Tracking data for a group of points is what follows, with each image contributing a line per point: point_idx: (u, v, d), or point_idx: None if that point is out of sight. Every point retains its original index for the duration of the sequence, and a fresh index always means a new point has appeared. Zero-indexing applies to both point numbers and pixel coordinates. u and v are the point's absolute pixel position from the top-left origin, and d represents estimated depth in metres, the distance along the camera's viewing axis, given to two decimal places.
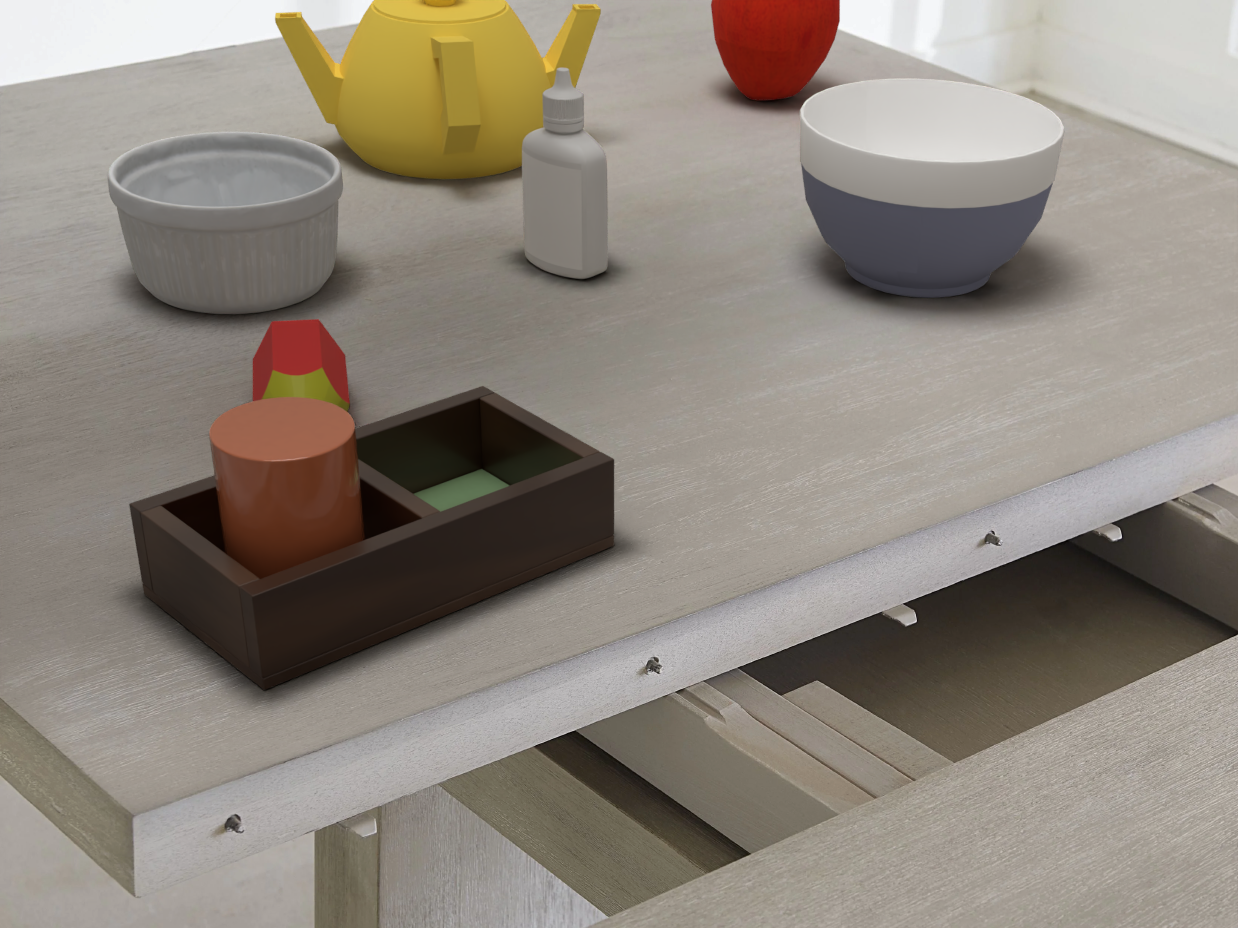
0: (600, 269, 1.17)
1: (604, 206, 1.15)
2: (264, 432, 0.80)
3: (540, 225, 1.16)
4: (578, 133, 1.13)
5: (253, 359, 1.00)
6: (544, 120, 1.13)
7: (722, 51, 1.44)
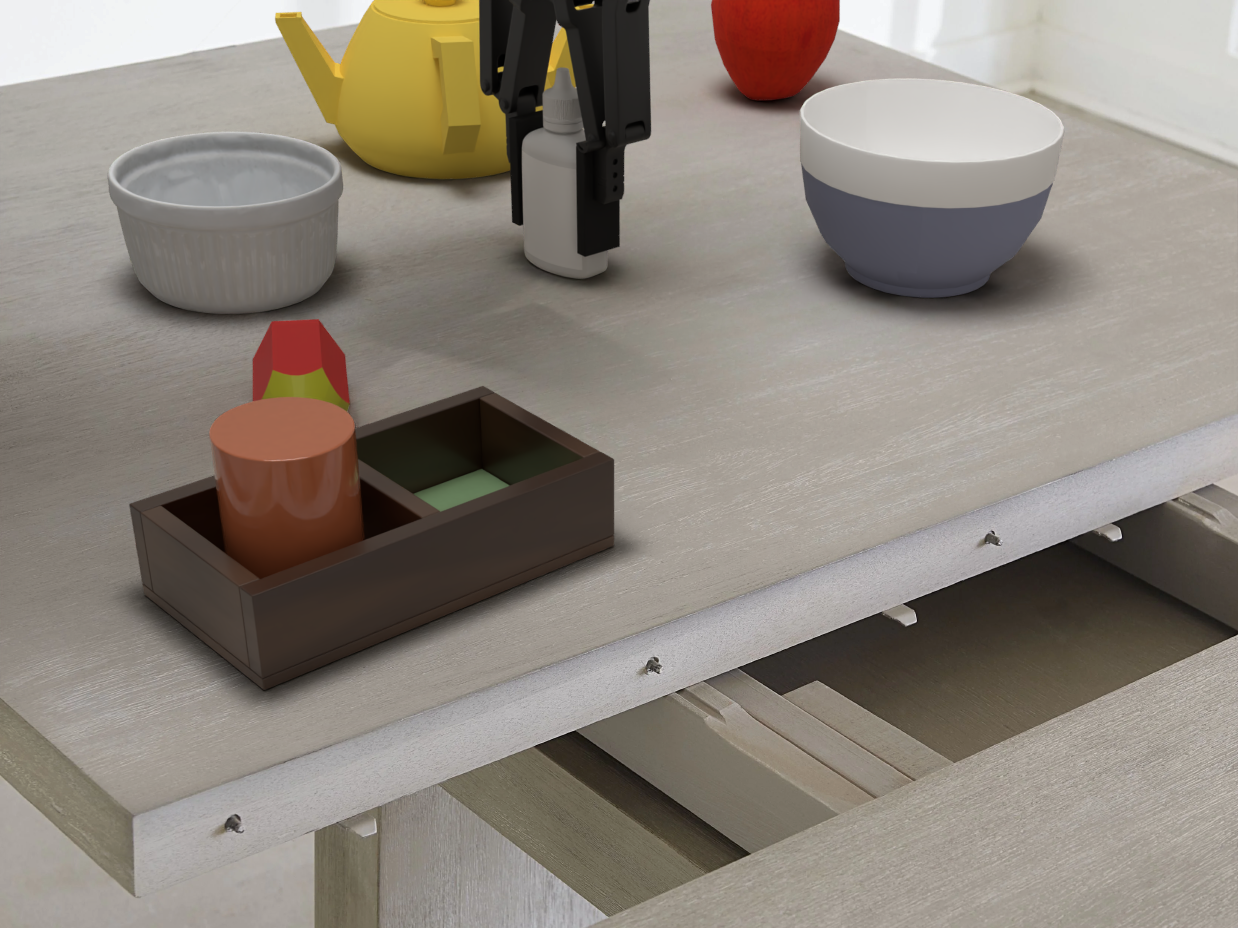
0: (600, 269, 1.17)
1: None
2: (264, 432, 0.80)
3: (540, 225, 1.16)
4: (578, 133, 1.13)
5: (253, 359, 1.00)
6: (544, 120, 1.13)
7: (722, 51, 1.44)
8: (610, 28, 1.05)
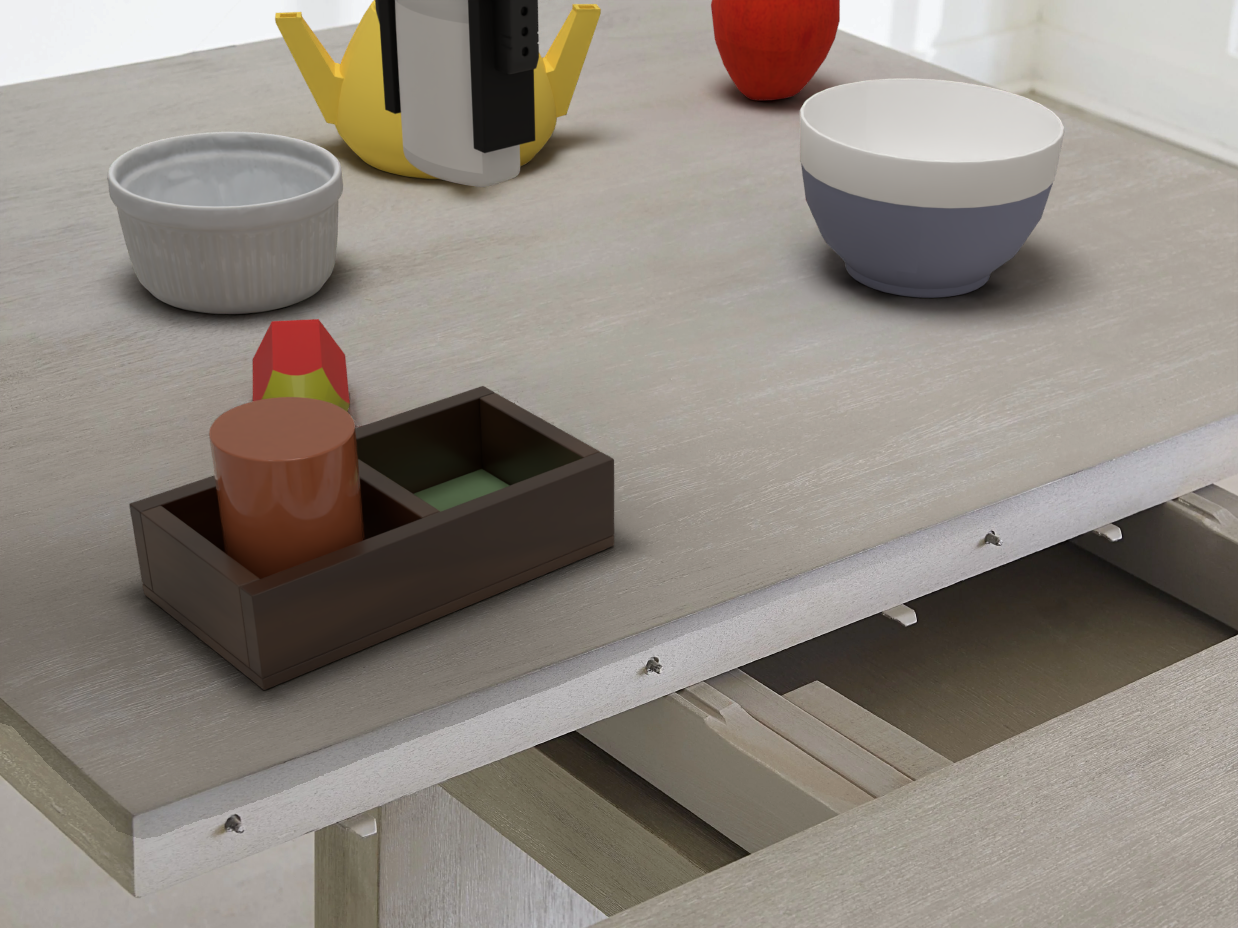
0: (509, 174, 0.82)
1: None
2: (264, 432, 0.80)
3: (422, 110, 0.81)
4: None
5: (253, 359, 1.00)
6: None
7: (722, 51, 1.44)
8: None
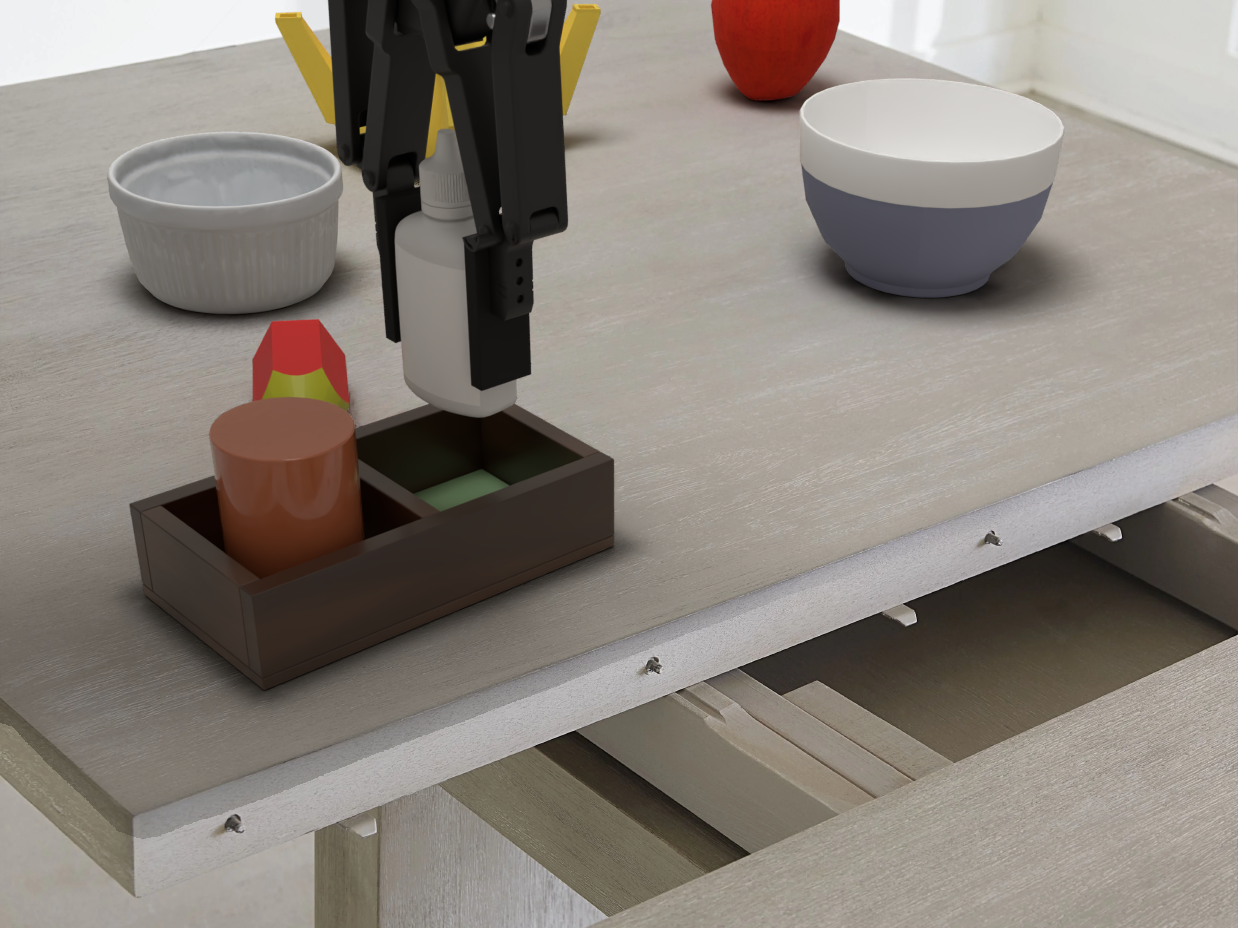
0: (506, 404, 0.85)
1: None
2: (264, 432, 0.80)
3: (422, 345, 0.84)
4: (471, 219, 0.81)
5: (253, 359, 1.00)
6: (422, 202, 0.80)
7: (722, 51, 1.44)
8: (504, 77, 0.73)
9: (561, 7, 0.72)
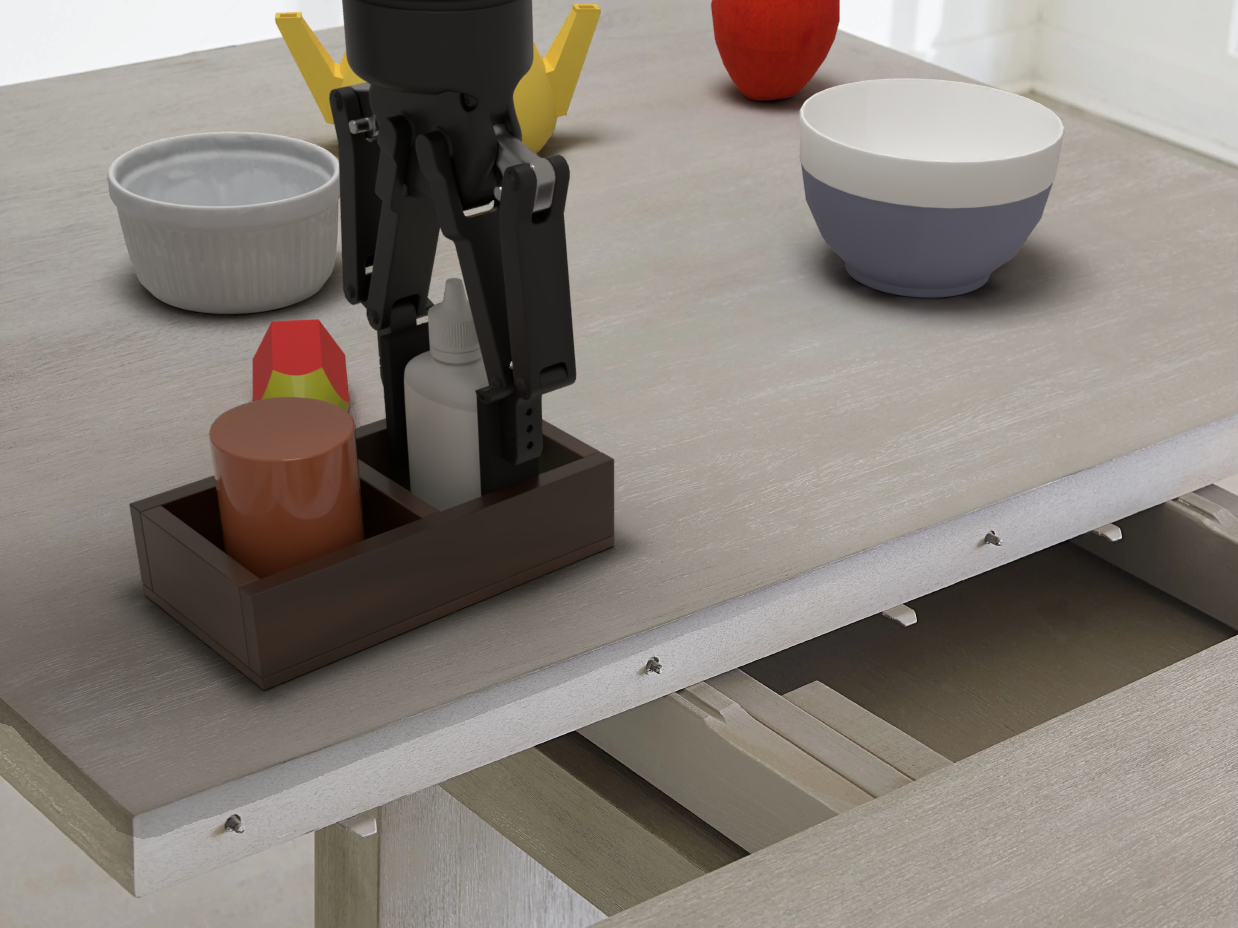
0: None
1: None
2: (264, 432, 0.80)
3: (429, 478, 0.87)
4: (477, 362, 0.85)
5: (253, 359, 1.00)
6: (431, 346, 0.84)
7: (722, 51, 1.44)
8: (511, 245, 0.77)
9: (564, 178, 0.76)
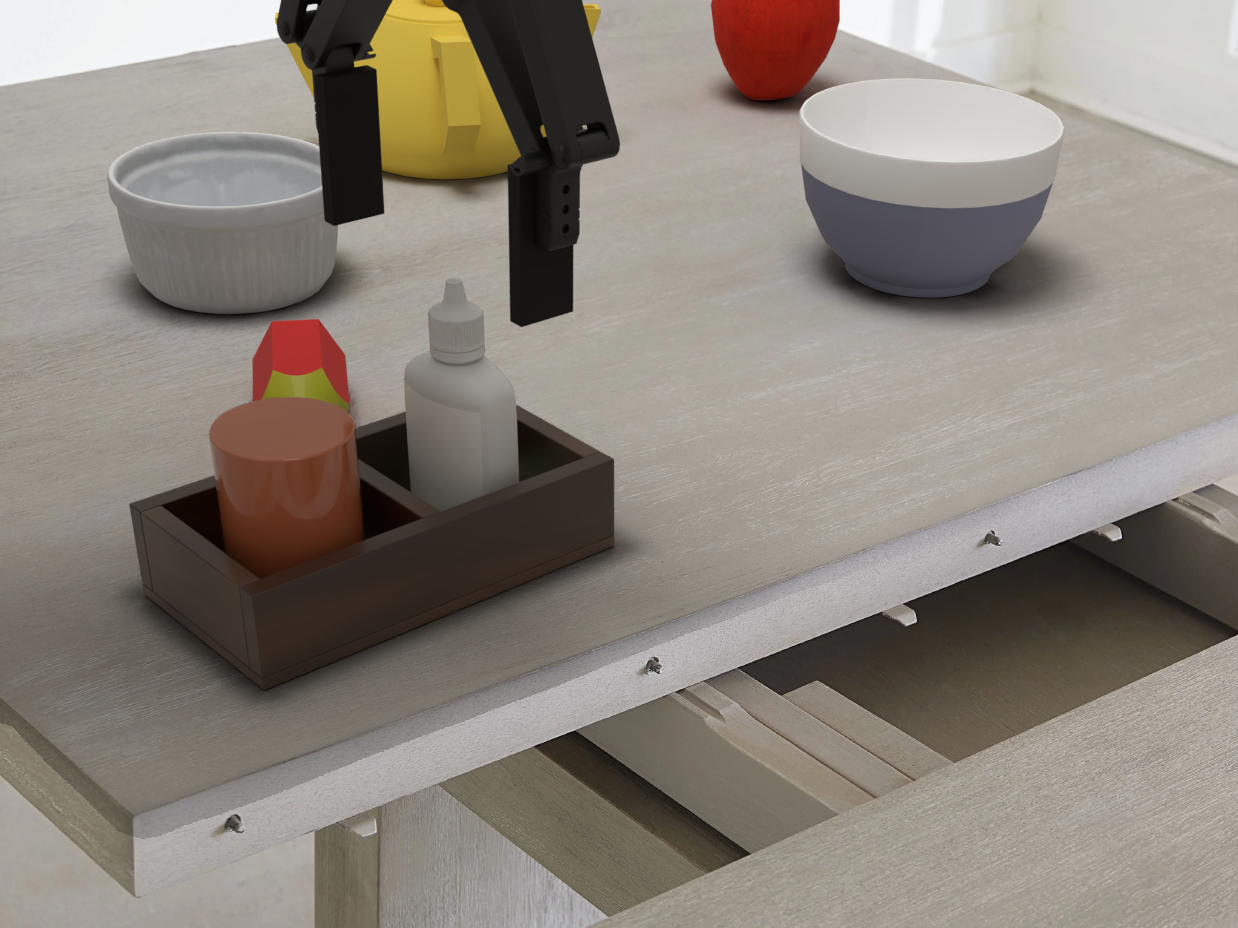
0: None
1: (514, 455, 0.86)
2: (264, 432, 0.80)
3: (429, 478, 0.87)
4: (477, 362, 0.85)
5: (253, 359, 1.00)
6: (431, 346, 0.84)
7: (722, 51, 1.44)
8: None
9: None
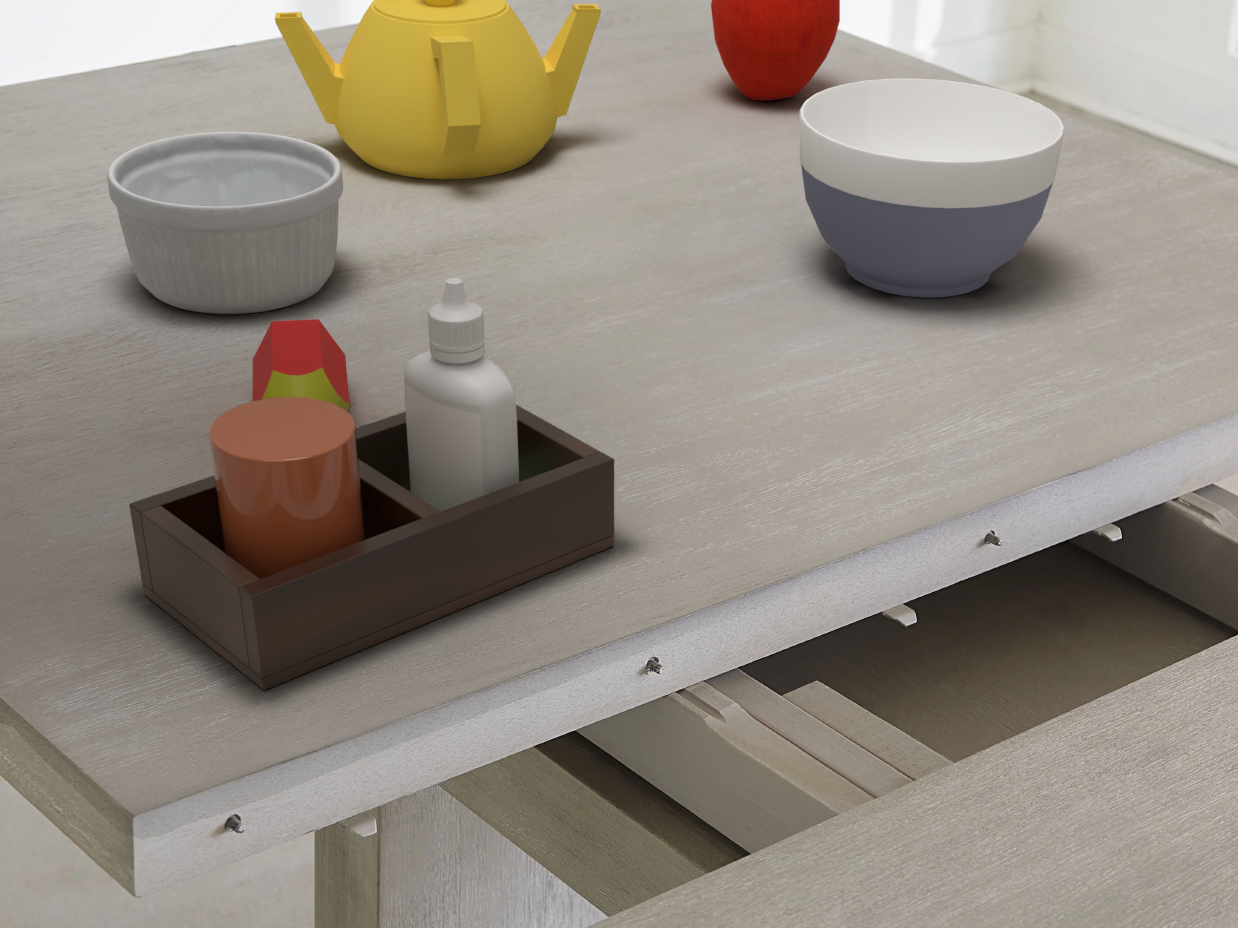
0: None
1: (514, 455, 0.86)
2: (264, 432, 0.80)
3: (429, 478, 0.87)
4: (477, 362, 0.85)
5: (253, 359, 1.00)
6: (431, 346, 0.84)
7: (722, 51, 1.44)
8: None
9: None
